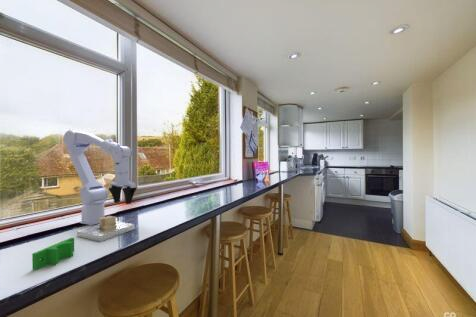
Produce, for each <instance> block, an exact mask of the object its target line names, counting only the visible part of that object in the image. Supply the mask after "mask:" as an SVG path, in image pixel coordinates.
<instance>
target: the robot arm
mask: <svg viewBox="0 0 476 317" xmlns="http://www.w3.org/2000/svg"><path fill="white" fill-rule="evenodd" d="M62 141H63V143H64V145H65V147H66V149H67V152H68V156H69V158H70V159H71V162H72V164H73V166H74V169H75V170H76V173H77V175H78V178H79V180H80V182H81V184H82V186H81V188H80V189H79V191H78V192H79V194H80V200H81V202H82V203H83V205H82V207H81V216H80V217H81V221H82V222H81V221H79V222H80V223H79V224H82V225H89V226H95V225H99V218H102V217H106V216H105V215H106V214H105V202H106V200H107V199H108V197H109V192H110V194H111V196H112V198H113V202H114V203H115V204H116V203H120V202H121V193H122V191H123V194H124V200H125V205H130V204H132V202H133V201H132V200H133V198H134V195H135V192H136V190H137V188H138V187H137V185H136V182H133V181H130V158H131V157H132V155H133V150H132V149H131V147H129V146H127V145H125V146H123V145H122V144H121V143H117V142H115V141H114V140H113V139H110V138H109V139H102V138H101V137H98V136H97V135H94V134H93V133H90V132H87V131H86V132H85V131H77V130H70V129H69V130H67V131H65V133H64V134H63V138H62ZM91 145H94V146H97V147H99V148H100V150H101V151H102V152H104V153H106V154H108V155H111V158H112V159H113V162H114V181H111V182H109V187H108V189H107V188H106V187H105V186H104V184H103V183H101V182H99V181H98V180H97V179H96V177H95V175H94V172H93V170H92V169H91V166H90V163H89V162H88V160H87V157H86V155H85V152H86V151H88V148H89V147H90V146H91Z"/></svg>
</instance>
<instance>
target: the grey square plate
mask: <svg viewBox="0 0 476 317" xmlns="http://www.w3.org/2000/svg"><path fill="white" fill-rule="evenodd" d="M133 230H135V224H134V223H129V222H122V221H116V227H114V228H111V229H108V230H105V231H104V230H100V229H99V224H95V225H91V226H90V227H86V228H83V229H79V230H77V231H76V237H79V238H83V239H88V240H91V241H95V242H100V243H101V242H103V241H106V240H109V239H112V238H114V237H117V236H119V235H123V234H125V233H128V232H131V231H133Z"/></svg>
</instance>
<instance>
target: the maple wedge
mask: <svg viewBox="0 0 476 317" xmlns="http://www.w3.org/2000/svg"><path fill="white" fill-rule="evenodd" d="M116 220H117V218H116V216H114V215H107V216H105V217H102V218H99V223H98V225H99V229H100V230H104V231H105V230H108V229H111V228H114V227H116Z"/></svg>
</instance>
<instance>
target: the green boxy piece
mask: <svg viewBox="0 0 476 317" xmlns="http://www.w3.org/2000/svg"><path fill="white" fill-rule="evenodd" d="M74 252H75V237H70V238H67V239H64V240H61V241H60V242H57V243H54V244H52V245H50V246H47V247H45V248H43V249H41V250H38V251H35V252H33V253H32V254H31V256H32V257H31V258H32V259H31V260H32V262H31V263H32V271H37V270H40V269H41V268H43V267H46V266H48V265H52V266H53V265H54V266H57V265H58V263H59V261H60V260H63V259H67V258H72V257H73V256H74ZM56 264H57V265H56ZM59 264H60V263H59Z"/></svg>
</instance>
